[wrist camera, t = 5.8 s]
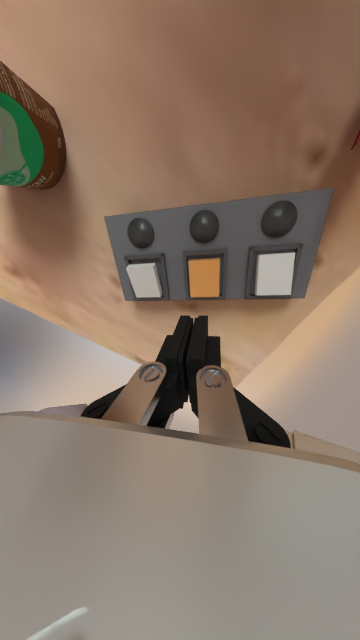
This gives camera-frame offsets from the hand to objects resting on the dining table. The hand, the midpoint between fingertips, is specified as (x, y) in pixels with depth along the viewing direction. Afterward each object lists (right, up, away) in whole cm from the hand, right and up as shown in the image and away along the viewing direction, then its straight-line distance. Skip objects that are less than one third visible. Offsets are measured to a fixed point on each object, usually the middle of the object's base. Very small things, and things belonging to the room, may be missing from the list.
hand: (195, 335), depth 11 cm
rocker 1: (-5, +6, +10) cm, 12 cm away
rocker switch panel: (+2, +9, +11) cm, 14 cm away
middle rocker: (+2, +6, +8) cm, 10 cm away
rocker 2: (+9, +6, +7) cm, 12 cm away
